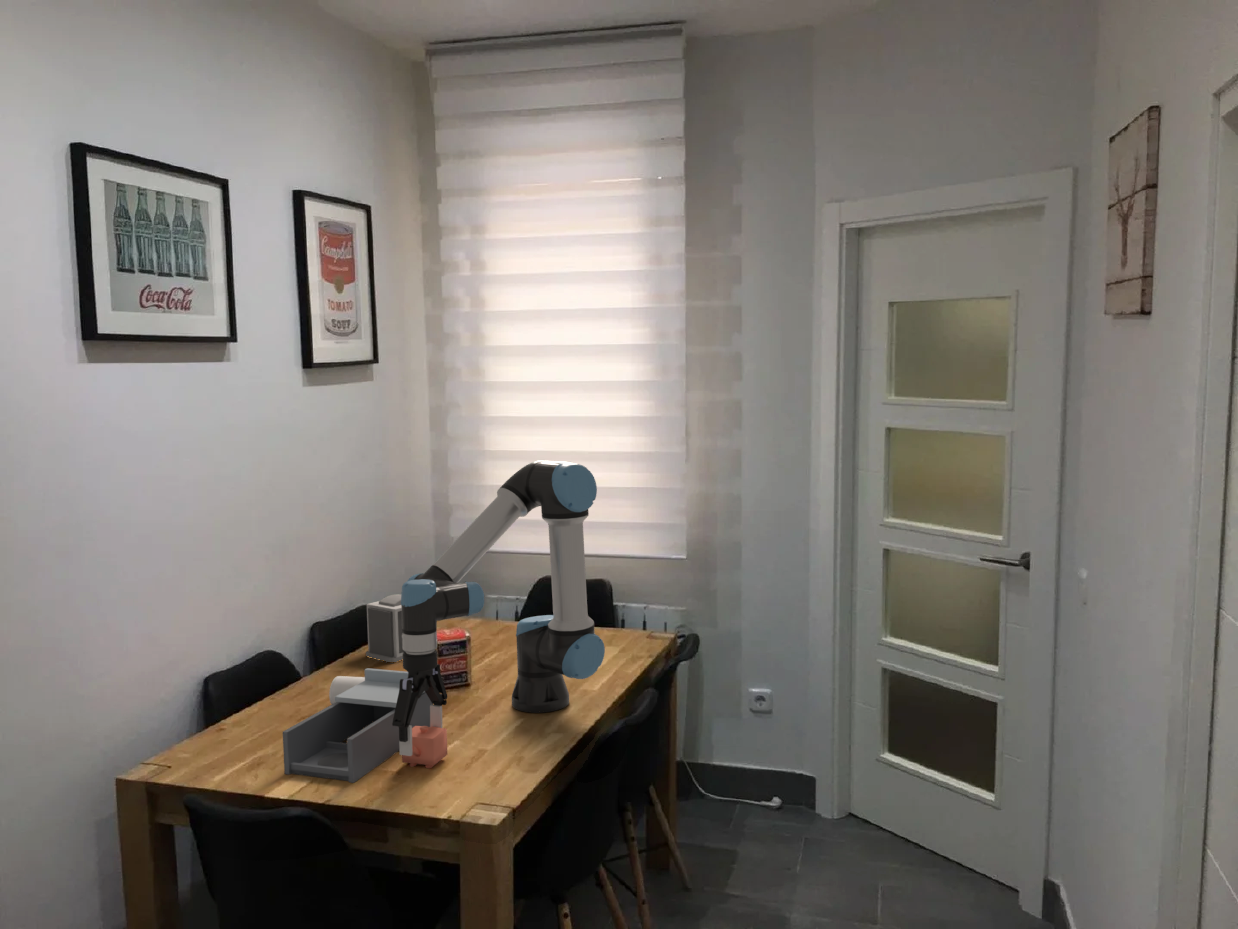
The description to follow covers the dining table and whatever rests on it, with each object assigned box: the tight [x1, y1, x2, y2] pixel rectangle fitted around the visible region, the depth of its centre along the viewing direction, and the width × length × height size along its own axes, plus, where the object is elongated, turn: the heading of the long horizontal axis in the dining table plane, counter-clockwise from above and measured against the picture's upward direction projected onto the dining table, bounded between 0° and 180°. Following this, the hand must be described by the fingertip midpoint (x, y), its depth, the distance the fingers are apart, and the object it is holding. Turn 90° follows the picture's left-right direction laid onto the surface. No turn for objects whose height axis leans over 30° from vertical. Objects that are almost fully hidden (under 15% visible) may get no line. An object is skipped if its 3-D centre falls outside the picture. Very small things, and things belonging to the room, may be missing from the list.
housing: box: [282, 692, 434, 784], centre depth 225 cm, size 17×35×10 cm, turn 162°
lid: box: [335, 667, 425, 708], centre depth 233 cm, size 17×14×4 cm
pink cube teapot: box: [401, 726, 448, 769], centre depth 216 cm, size 8×12×8 cm, turn 164°
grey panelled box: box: [365, 593, 404, 663], centre depth 304 cm, size 18×13×18 cm
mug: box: [328, 675, 365, 705], centre depth 256 cm, size 12×10×8 cm
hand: (421, 744), depth 215 cm, fingers open, 13 cm apart
